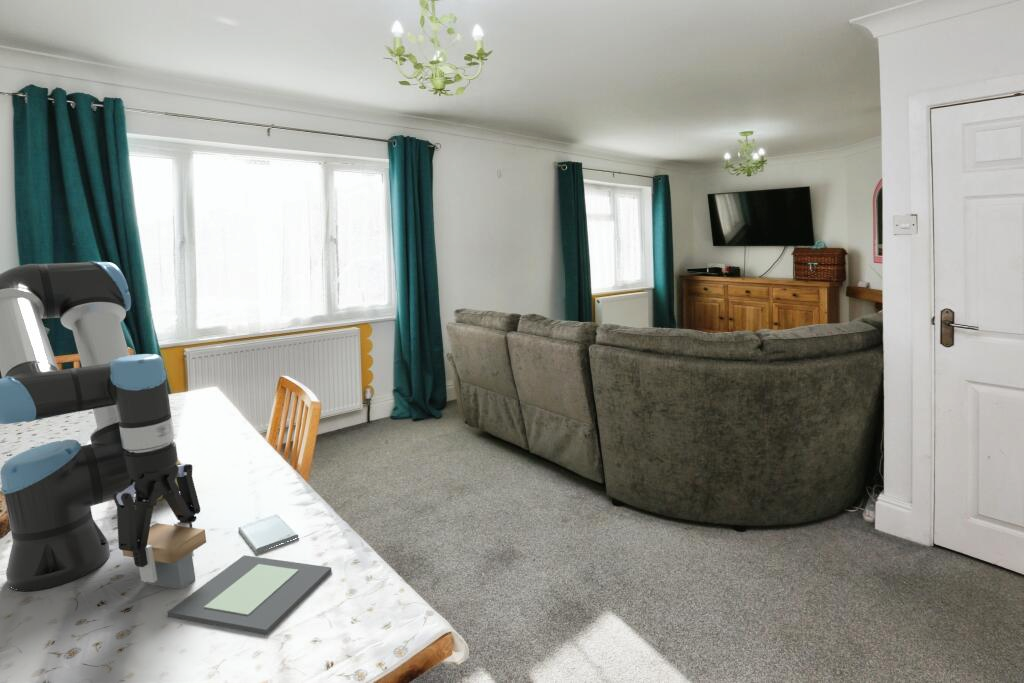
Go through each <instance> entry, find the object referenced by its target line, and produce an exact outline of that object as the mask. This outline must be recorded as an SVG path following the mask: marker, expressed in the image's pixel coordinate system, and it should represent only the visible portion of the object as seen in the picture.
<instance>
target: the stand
mask: <svg viewBox="0 0 1024 683" xmlns="http://www.w3.org/2000/svg"><path fill="white" fill-rule="evenodd" d="M193 558H194V557H192V552H191V553H189V554H188V555H186V556H185V557H183V558H182V559H180V560H179V561H177V562H175V563H174V564H172V563H166V562H159V561H154V562H155V568H156V574H157V581H155V582H154V583H152V582H146V581H144V582H145V584H148V585H153V586H161V587H165V588H166V587H167V588H172V589H178V590H183V589H184V588H185V587H187V586H189V585H190V584H191V583H192V582H194V581H196V573H195V567H194V566H195V565H194V559H193Z"/></svg>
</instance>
